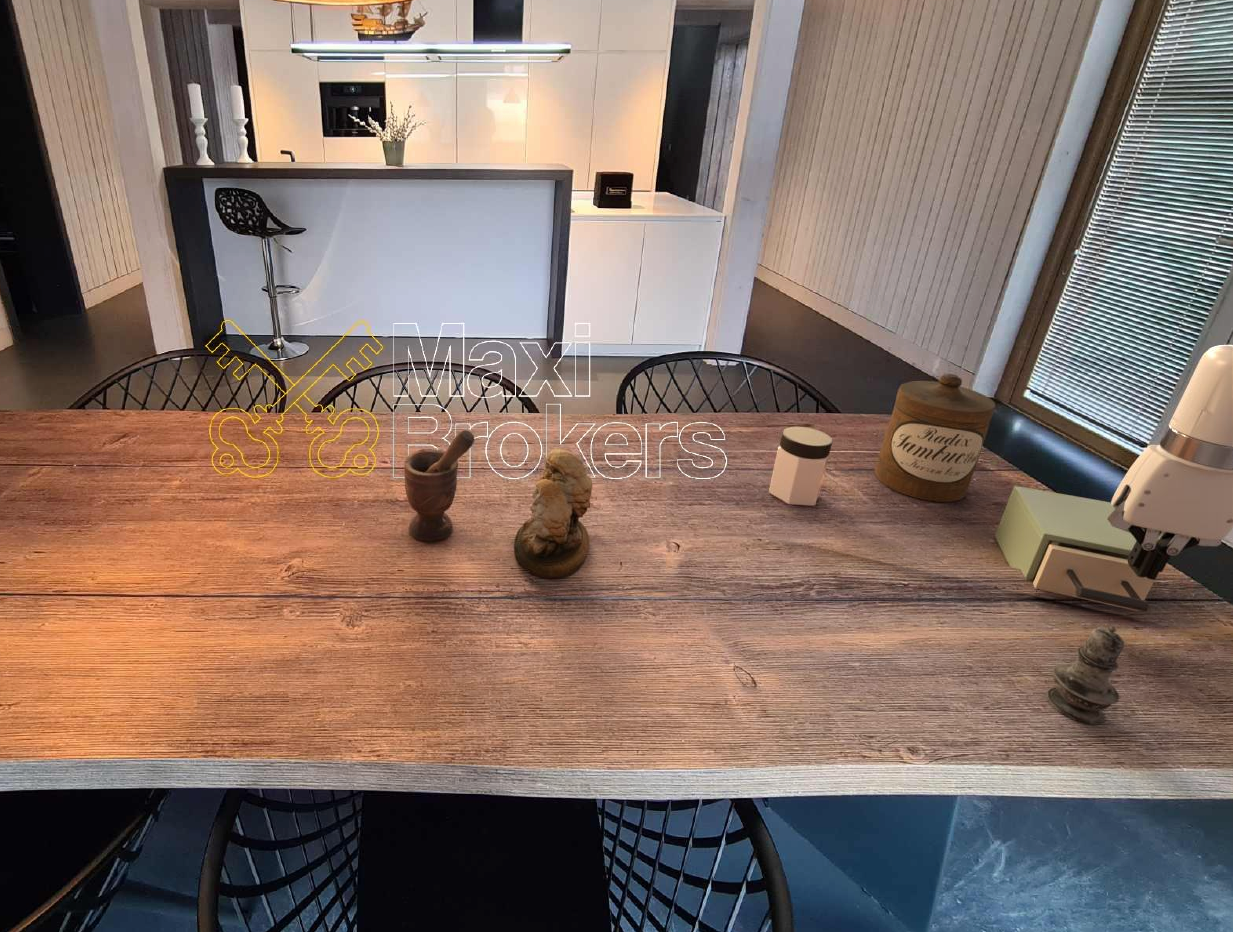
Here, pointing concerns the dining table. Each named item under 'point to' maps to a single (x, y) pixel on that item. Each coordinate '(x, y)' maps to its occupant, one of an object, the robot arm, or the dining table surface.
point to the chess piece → (1088, 679)
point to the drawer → (1091, 576)
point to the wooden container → (934, 439)
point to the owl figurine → (556, 519)
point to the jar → (800, 465)
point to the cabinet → (1055, 527)
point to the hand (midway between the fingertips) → (1140, 572)
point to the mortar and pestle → (434, 487)
